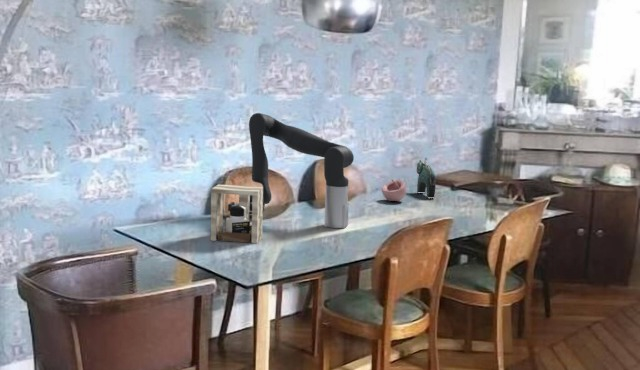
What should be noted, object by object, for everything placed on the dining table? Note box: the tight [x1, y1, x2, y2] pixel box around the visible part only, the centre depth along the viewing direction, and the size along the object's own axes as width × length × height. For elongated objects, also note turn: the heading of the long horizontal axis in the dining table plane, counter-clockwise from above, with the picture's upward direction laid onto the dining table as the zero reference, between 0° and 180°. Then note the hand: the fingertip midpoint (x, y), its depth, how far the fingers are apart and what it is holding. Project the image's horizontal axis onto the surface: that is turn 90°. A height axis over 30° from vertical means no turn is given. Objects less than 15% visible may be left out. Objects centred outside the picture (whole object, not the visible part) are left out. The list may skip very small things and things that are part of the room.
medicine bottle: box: [225, 206, 251, 233], centre depth 264 cm, size 7×7×12 cm
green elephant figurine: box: [416, 157, 436, 198], centre depth 363 cm, size 20×6×20 cm, turn 10°
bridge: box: [210, 184, 264, 244], centre depth 262 cm, size 10×18×20 cm, turn 84°
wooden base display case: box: [217, 195, 252, 243], centre depth 267 cm, size 19×12×15 cm, turn 174°
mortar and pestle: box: [381, 179, 407, 202], centre depth 345 cm, size 12×12×11 cm
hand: (242, 211), depth 272 cm, fingers open, 8 cm apart
